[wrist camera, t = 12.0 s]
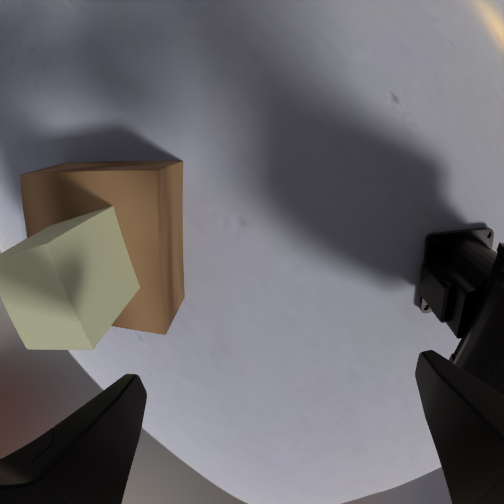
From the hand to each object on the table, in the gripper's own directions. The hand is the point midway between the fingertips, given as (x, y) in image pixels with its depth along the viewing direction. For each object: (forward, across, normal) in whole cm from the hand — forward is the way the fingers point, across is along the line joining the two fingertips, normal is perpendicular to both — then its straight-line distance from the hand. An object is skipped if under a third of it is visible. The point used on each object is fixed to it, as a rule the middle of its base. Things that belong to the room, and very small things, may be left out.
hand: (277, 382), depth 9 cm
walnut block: (+13, +11, -2) cm, 18 cm away
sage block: (+8, +11, -2) cm, 14 cm away
